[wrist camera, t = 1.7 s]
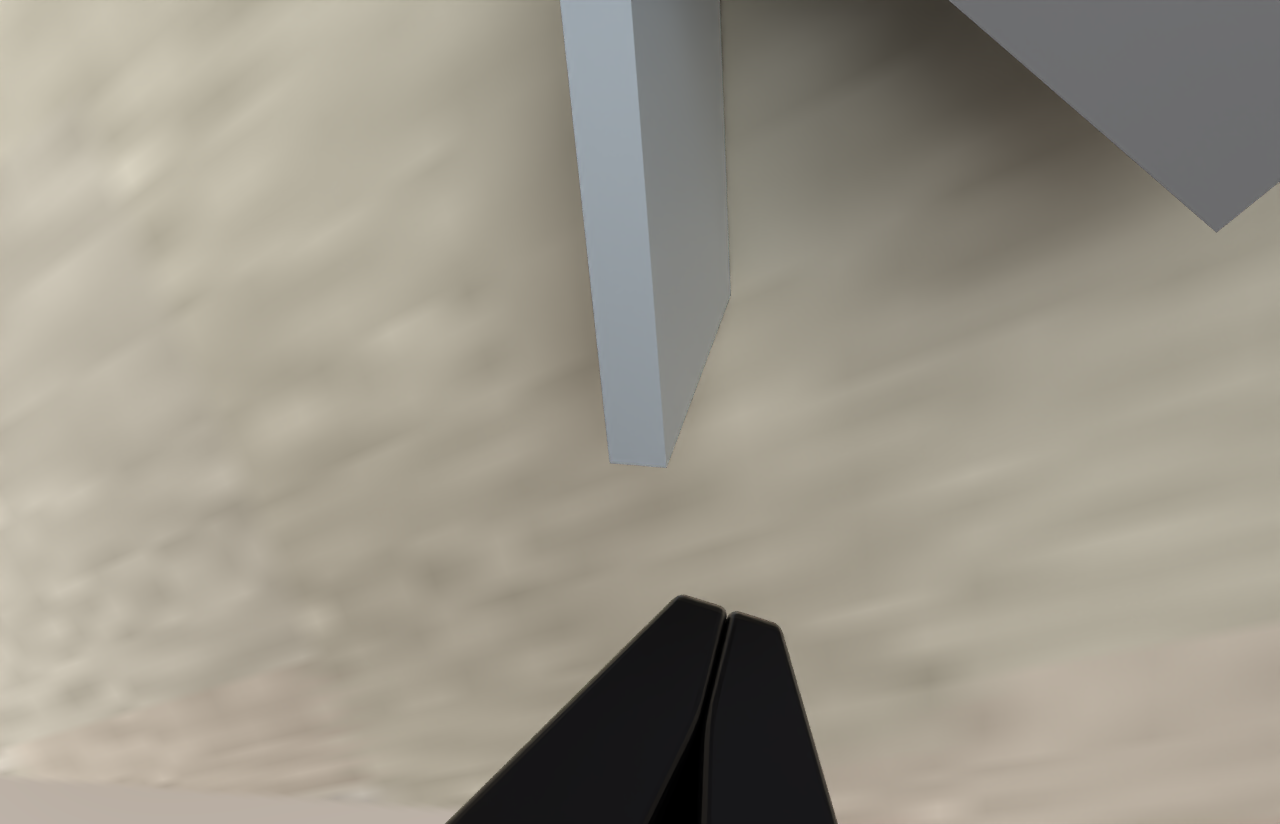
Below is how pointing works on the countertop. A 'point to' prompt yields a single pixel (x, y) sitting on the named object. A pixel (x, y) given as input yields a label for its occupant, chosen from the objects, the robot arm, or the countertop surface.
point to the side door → (650, 205)
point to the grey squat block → (1162, 85)
